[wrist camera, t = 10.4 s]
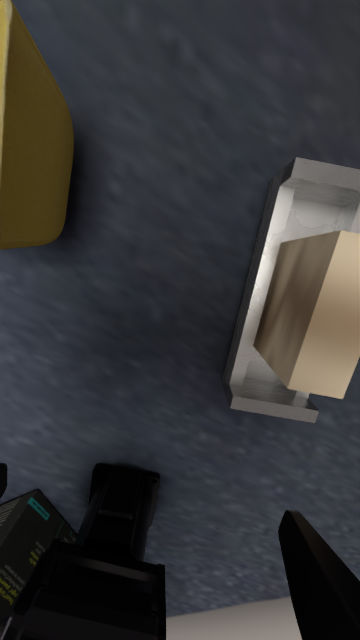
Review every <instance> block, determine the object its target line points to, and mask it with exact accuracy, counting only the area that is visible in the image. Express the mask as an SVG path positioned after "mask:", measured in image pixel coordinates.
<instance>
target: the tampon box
mask: <svg viewBox="0 0 360 640" xmlns="http://www.w3.org/2000/svg"><path fill="white" fill-rule="evenodd" d="M55 537H56V538H60V539H62V541H65V542H69V543H73V544H74V543H75V540H76V538H77V535H76V534H75V533H74V532H73V530H72V529H71V528H70V527H69V526H68V525H67V523H66V522H65V521H64V520H63V519H62V518H61V516H60V515H59V514H58V513H57V512H56V511H55V509H54V508H53V507H52V506H51V505H50V503H49V502H48V501H47V500H46V499H45V497H44V496H43V495H42V494H41V493H40V491H39V490H35V491H33V492H31V493H28V494H26V495H24V496H22V497H19V498H17V499H14V500H12V501H10V502H7V503H5V504H3V505H0V622H1V620H2V619H3V617H4V615H5V614H6V612H7V611H8V609H9V608H10V606H11V605H12V603H13V602H14V600H15V599H16V597H17V596H18V594H19V593H20V591H21V590H22V588H23V587H24V585H25V584H26V582H27V580H28V579H29V577H30V575H31V573H32V571H33V569H34V567H35V565H36V563H37V561H38V559H39V557H40V555H41V553H42V552H45V550H46V549H49V547H50V545H51V544H52V542H53V540H54V538H55Z"/></svg>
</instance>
